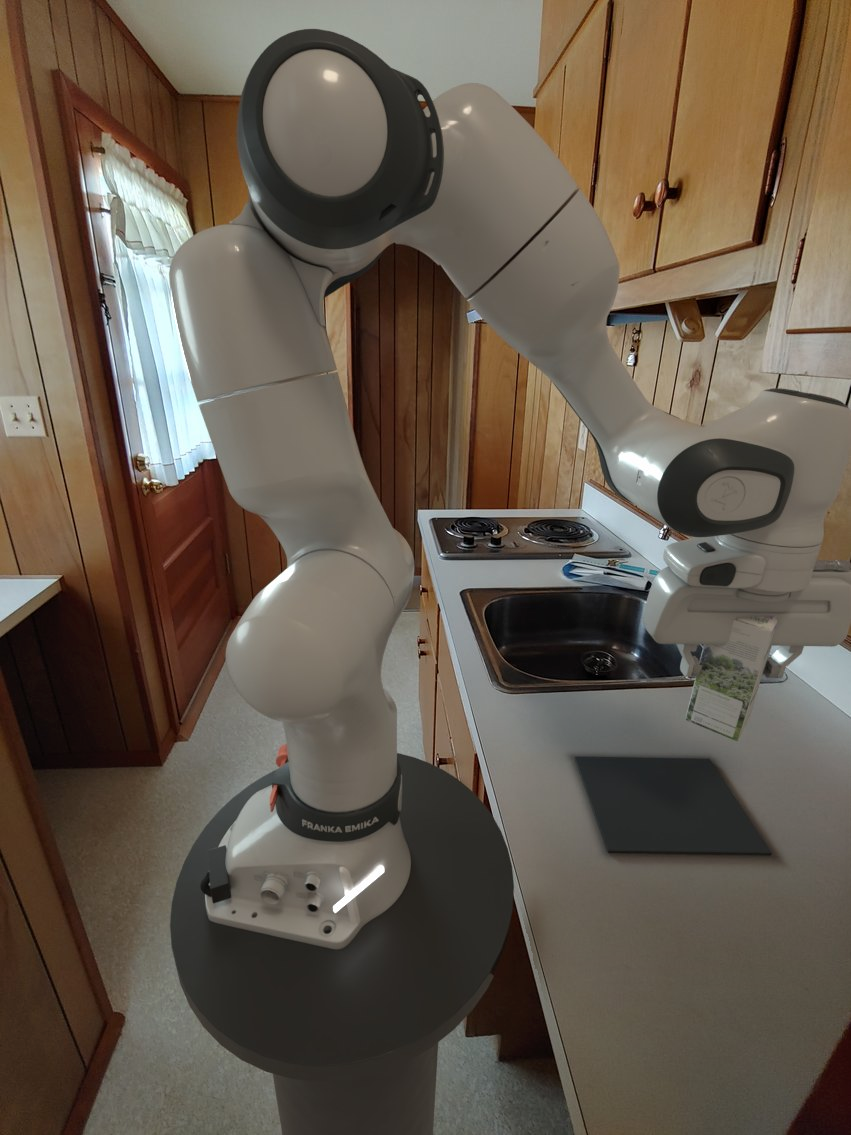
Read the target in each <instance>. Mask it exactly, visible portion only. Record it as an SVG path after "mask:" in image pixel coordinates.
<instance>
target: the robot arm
mask: <svg viewBox="0 0 851 1135" xmlns="http://www.w3.org/2000/svg"><path fill="white" fill-rule="evenodd" d="M419 96H421V97H422V98H423V100H424V102H425V104H426V107H424V108H423V106H422V103H421V102H420V100H419ZM236 144H237V155H238V160H239V165H240V169H241V171H242V175H243V177H244V180H245V182H246V185H247V188H248V199H247V202H245V204H244V206H243V209H242V211H241V213H240V214H239V215H238V216H237V217H235V218H233V219H232V220H230V221H229V223H227V224H219V225H214V226H211V227H208V228H205V229H203V230H200V231H199V232H197V233H195V234H193V235H192V236H190V237H189V238H188V239H186V240H185V241H184V242H183V243H182V244H181V245H180V246H179V247H178V248H177V250H176V251H175V253H174V255H173V257H172V259H171V261H170V265H169V272H168V279H169V290H170V296H171V302H172V310H173V315H174V320H175V325H176V331H177V335H178V339H179V344H180V348H181V352H182V356H183V360H184V363H185V366H186V370H187V373H188V377H189V380H190V384H191V386H192V390H193V393H194V396H195V400H196V402H197V403H199V404H198V407H199V411H200V413H201V416H202V419H203V421H204V424H205V427H206V430H207V433H208V436H209V439H210V441H211V442H210V443H211V445H212V447H213V450H214V452H215V456H216V458H217V461H218V464H219V467H220V469H221V473H222V475H223V478H224V480H225V484H226V486H227V489H228V492H229V494H230V496H231V498H232V499H233V500H234V502H236V504H237V505H239V506H240V507H241V508H242V509H244V510H246V511H247V512H250V513H252V514H254V515H258V516H259V517H260V518H261V519H262V520H263V521H264V522H265V523H266V524H267V526H268V527H269V528H270V530H271V531H272V533H273V534H274V535H275V537H276V539H277V540H278V542H279V543H280V545H281V547H282V549H283V551H284V553H285V557H286V563H287V565H286V569H284V570H283V571H282V572H281V573H280V574H278V575H277V576H276V577H275V578H274V579H273V580H271V582H269V583H268V584H267V585H266V586H265V587H264V588H263V589H261V590H260V591H259V592H258V593H257V594H256V595H255V596H254V598H253V599H252V601H251V602H250V604H249V605H248V606H247V608H246V610H245V611H244V613H243V614H242V615H241V618H240V619H239V621H238V622H237V624H236V626H235V627H234V629H233V630H232V632H231V635H230V637H229V638H228V640H227V643H226V647H225V666H226V670H227V673H228V676H229V679H230V681H231V683H232V685H233V687H234V688H235V690H236V692H237V693H238V694H239V696H240V697H241V698H242V699H243V701H245V703H246V704H247V705H248V706H250V707H251V708H252V709H253V710H255V711H256V712H258V713H259V714H261V715H263V716H264V717H267V718H269V719H271V720H274V721H277V722H281V723H282V725H283V730H284V735H285V743H284V744H282V745H281V746H280V747H279V749H278V751H277V752H278V753H277V757H276V758H275V764H276V766H277V767H278V768H279V769H278V768H276V769H277V770H276V769H275V770H276V772H275V774H274V776H273V780H272V785H271V786H269V787H267V788H264V789H262V790H260V791H258V792H256V793H255V794H254V795H253V796H252V797H251V798H250V799H249V800H248V801H247V803H246V804H245V805H244V807H243V809H242V810H241V812H240V814H239V816H238V818H237V820H236V821H235V822H234V823H233V824H232V826H231V827H230V828H229V830H228V831H227V832H226V834H225V836H224V837H223V839H222V841H221V843H220V845H219V847H217V848H214V849H210V850H208V855H209V872H208V873H207V874H206V875H205V877H204V878H203V879H202V881H201V884H200V888H201V890H202V892H203V893H204V894H205V905H206V912H207V915H208V918H209V920H210V921H212V922H214V923H218V924H222V925H227V926H231V927H236V928H240V929H245V930H249V931H254V932H258V933H263V934H267V935H272V936H276V937H281V938H285V939H290V940H294V941H299V942H303V943H308V944H312V945H317V946H321V947H326V948H330V949H336V950H337V949H342V948H344V947H345V946H347V945H348V944H349V943H350V942H351V941H352V940H353V938H354V937H355V936H356V935H357V933H358V932H359V931H360V929H361V928H362V927H363V926H364V925H365V924H366V923H368V922H369V921H371V920H372V919H374V918H376V917H377V916H379V915H381V914H382V913H383V912H385V911H386V910H387V909H388V908H390V907H391V906H392V905H393V904H394V903H395V902H396V900H397V899H398V898H399V897H400V895H401V894H402V892H403V890H404V888H405V886H406V884H407V882H408V879H409V875H410V870H411V856H410V851H409V848H408V845H407V843H406V841H405V838H404V835H403V832H402V827H401V823H400V811H401V808H402V775H401V768H400V763H399V760H398V758H397V753H398V708H397V705H396V702H395V700H394V698H393V697H392V695H391V693H389V692H388V691H387V690H386V689H385V688H384V686H383V680H382V666H383V660H384V656H385V652H386V649H387V644H388V642H389V639H390V637H391V634H392V632H393V631H394V627H395V625H396V624H397V623H398V621H399V619H400V617H401V615H402V614H403V612H404V610H405V609H406V606H407V605H408V603H409V601H410V598H411V596H412V590H413V586H414V585H413V584H414V577H415V558H414V553H413V551H412V548H411V546H410V544H409V543H408V541H407V539H406V538H405V537H404V536H403V535H402V534H401V532H399V531H398V530H396V528H394V527H393V525H392V523H391V522H390V520H389V517H388V516H387V513H386V511H385V510H384V507H383V505H382V503H381V501H380V500H379V497H378V495H377V493H376V491H375V489H374V486H373V485H372V483H371V480H370V478H369V475H368V473H367V470H366V468H365V465H364V463H363V459H362V457H361V453H360V449H359V445H358V442H357V439H356V435H355V431H354V428H353V424H352V420H351V417H350V413H349V410H348V406H347V402H346V398H345V395H344V391H343V387H342V384H341V379H340V376H339V372H338V371H337V370H338V368H337V363H336V360H335V358H334V353H333V351H332V347H331V343H330V339H329V335H328V330H327V325H326V319H325V309H324V307H325V306H324V302H325V301H324V299H325V298H327V297H328V296H330V295H331V294H333V293H335V292H336V291H338V290H339V289H340V288H342V287H345V286H346V285H347V284H350V283H352V282H353V281H355V280H357V279H358V278H361V276H362V275H364V274H366V272H368V270H370V269H371V268H372V267H373V266H374V265H375V264H376V263H377V262H378V260H379V259H380V257H381V256H382V254H383V252H384V250H385V249H386V248H387V247H389V246H391V245H392V244H394V243H395V244H396V245H404V246H408V247H411V248H413V249H415V250H418V251H419V252H421V253H423V254H424V255H426V256H427V257H429V258H430V260H432V261H433V262H434V263H435V264H436V265H437V266H441V268H442V270H443V271H444V272H445V273H446V275H447V276H448V278H449V279H450V280H451V282H452V283H453V285H454V286H455V287H456V289H457V290H458V291H459V292H460V293H461V296H463V297H464V299H466V301H467V302H468V304H469V305H470V306H471V308H473V310H474V311H475V312H476V313H477V314H478V316H479V317H480V318H481V319H482V320H483V321H484V322H485V323H486V324H487V326H489V328H491V329H492V330H493V331H494V333H496V334H497V335H498V336H499V337H500V338H501V339H502V340H503V341H504V342H505V343H506V344H507V345H508V346H510V347H511V348H512V349H513V350H514V351H516V352H517V353H518V354H519V355H520V356H521V357H523V358H524V359H525V360H527V361H528V362H529V363H530V364H531V365H532V366H534V367H535V368H537V370H539V371H540V372H541V373H542V374H544V375H545V376H546V377H547V378H548V379H549V380H550V381H551V382H552V384H553V386H554V387H555V388H556V389H557V391H558V392H559V393H560V394H561V396H562V397H563V399H564V400H565V401H566V402H567V404H568V405H569V406H570V408H571V410H572V411H573V412H574V413H575V414H576V416H577V417H578V419H579V420H580V421H581V423H582V424H583V425H584V427H585V428H586V429H587V432H589V434H590V436H591V437H592V439H593V441H594V444H595V447H596V450H597V455H598V460H599V463H600V468H601V473H602V475H603V478H604V481H605V482H606V484H607V486H608V487H609V489H610V490H611V491H612V492H613V493H614V494H615V495H616V496H618V497H619V498H620V499H623V500H624V501H626V502H628V503H631V504H632V505H635V506H636V507H638V508H639V509H640V510H642V511H643V512H645V513H646V514H647V515H649V516H651V517H652V518H653V519H655V520H656V521H658V522H660V523H661V524H663V525H664V526H666V528H669V529H670V530H672V531H674V532H676V533H679V534H681V535H684V536H687V537H691V538H686V539H684V540H683V539H682V540H680V541H676V542H672V543H670V544H668V545H667V546H666V547H665V548H664V550H663V558H662V559H663V561H664V563H665V564H666V567H664V568H662V569H661V570H660V571H658V572H657V574H656V575H655V577H654V579H653V581H652V583H651V586H650V588H649V591H648V595H647V599H646V601H645V606H644V609H643V615H642V624H643V626H644V629H645V630H646V632H647V633H648V635H650V637H651V638H652V639H653V640H654V641H655V642H656V643H657V644H660V645H676V647H677V649H678V651H679V654H680V656H681V660H680V665H679V670H680V672H681V673H682V675H683V676H684V677H685V678H696V677H699V676H700V674H701V673H700V671H701V670H702V666H703V665H702V663H701V662H700V660H699V659H698V657H697V656H696V655H693V654H692V653H695V652H697V649H698V647H699V645H700V646H701V645H702V646H704V645H725V644H727V642H728V641H729V638H730V634H731V629H732V625H733V621H734V620H737V619H738V618H750V617H777V618H776V619H777V624H776V627H775V630H774V634H773V637H772V640H771V644H770V646H772V647H774V646H777V647H778V648H777V649H776V650H775V651H774V652H773V654H772V655H770V656H768V659H767V662H766V665H765V668H764V672H763V675H764V677H765V678H766V679H782V678H783V676H784V675H785V671H786V668H787V667H788V666H789V665H790V664H791V663H793V662H794V661H795V660H796V659H797V658H799V657H800V656H801V655H802V654H803V651H804V648H805V647H831V648H832V647H837V646H839V645H840V644H841V643H843V642H844V641H845V640H846V639H847V637H848V634H849V631H850V627H851V561H849V560H846V559H834V560H828V559H827V560H826V559H818V556H819V553H820V550H821V547H822V544H823V542H824V537H825V527H824V525H825V518H826V515H827V513H828V511H829V509H830V507H831V506H832V505H833V503H834V502H835V500H836V498H837V497H838V494H839V491H840V488H841V484H842V482H843V478H844V475H845V471H846V468H847V465H848V461H849V456H850V452H851V408H850V407H849V406H848V405H847V404H845V403H844V402H843V401H841V400H839V399H837V398H833V397H829V396H826V395H821V394H817V393H811V392H809V393H808V392H804V391H799V390H795V389H789V388H779V387H776V388H775V387H773V388H768V389H763V390H761V391H760V392H759V393H758V394H757V396H756V397H755V398H754V399H752V400H751V401H750V402H748V403H747V404H745V405H743V406H742V407H740V408H738V409H736V410H735V411H733V412H731V413H728V414H726V415H724V416H722V417H719V418H717V419H714V420H711V421H707V422H704V423H701V424H698V423H694V422H691V421H688V420H684V419H681V418H680V417H678V416H676V415H673V414H671V413H669V412H667V411H664V410H662V409H660V408H658V407H656V406H655V405H654V404H652V403H651V402H650V401H649V400H648V399H647V398H646V397H645V396H644V394H643V392H642V391H641V390H640V388H639V386H638V384H637V383H636V381H635V379H634V378H633V377H632V375H631V374H630V372H629V370H628V369H627V367H626V366H625V365H624V363H623V362H622V360H621V358H620V357H619V355H618V354H617V352H616V351H615V349H614V348H613V345H612V343H611V341H610V338H609V335H608V329H607V321H608V316H609V314H610V312H611V311H612V308H613V306H614V303H615V299H616V297H617V294H618V288H619V282H620V270H621V269H620V262H619V260H618V257H617V254H616V252H615V249H614V247H613V244H612V241H611V239H610V237H609V234H608V233H607V230H606V227H605V225H604V224H603V222H602V220H601V218H600V217H599V215H598V213H597V212H596V210H595V208H594V207H593V205H592V203H591V202H590V201H589V199H588V197H587V196H586V195H585V193H584V192H583V190H582V189H581V187H579V184H578V183H577V181H576V180H575V179H574V178H573V175H571V173H570V171H569V170H568V169H567V167H566V166H565V164H564V163H563V162H562V161H561V160H560V159H559V157H558V156H557V154H556V153H555V152H554V151H553V150H552V148H551V147H550V146H549V145H548V143H547V142H546V141H545V140H544V139H543V138H542V137H541V135H540V134H539V133H538V132H537V130H535V129H534V127H533V126H532V125H531V124H530V123H529V122H528V121H527V120H526V119H525V118H524V117H523V116H522V115H521V114H520V113H519V112H518V111H517V110H516V109H515V108H514V107H513V106H512V105H511V104H510V103H509V102H508V101H507V100H506V99H505V98H504V97H503V96H501V95H500V94H499V93H498V92H497V91H496V90H494V89H493V88H492V87H490V86H488V85H486V84H483V83H480V82H479V83H478V82H468V83H462V84H459V85H456V86H454V87H452V88H449V89H448V90H446V91H444V92H442V93H440V94H439V95H438V96H437V97H435V98H434V99H432V97H431V94H430V92H429V91H428V89H427V88H426V86H425V85H424V84H423V83H422V82H421V81H420V80H419V79H418V78H415V77H414V76H411V75H409V74H407V73H404V72H402V71H400V70H399V69H398V70H397V69H395V68H392V67H391V66H390V65H389V64H388V63H387V62H385V61H384V59H382V58H381V57H379V55H377V54H376V53H375V52H373V51H372V50H370V49H369V48H368V47H366V46H365V45H363V44H361V43H359V42H358V41H356V40H353V38H350V37H348V36H346V35H344V34H340V33H337V32H334V31H330V30H327V29H326V30H325V29H320V28H303V29H297V30H294V31H291V32H288V33H286V34H284V35H282V36H280V37H278V38H276V39H275V40H274V41H273V42H271V43H270V44H269V45H268V46H267V47H266V48H264V50H263V51H262V52H261V53H260V55H259V56H258V58H257V59H256V61H255V62H254V64H253V65H252V66H251V69H250V70H249V73H248V75H247V77H246V78H245V83H244V85H243V88H242V92H241V95H240V99H239V103H238V111H237V120H236ZM327 930H330V931H331V932H330V933H329V934H325V933H324V932H325V931H327Z"/></svg>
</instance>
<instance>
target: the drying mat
mask: <svg viewBox="0 0 851 1135" xmlns="http://www.w3.org/2000/svg"><path fill="white" fill-rule="evenodd" d="M574 761H575V763H576V766H577V769H578V772H579V774H580V778H581V780H582V783H583V786H584V789H585V792H586V794H587V795H586V796H587V798H588V800H589V803H590V806H591V809H592V811H593V815H594V817H595V820H596V823H597V825H598V828H599V831H600V835H601V837H602V840H603V843H604V846H605V848H606V852H607V853H608V854H610V853H611V854H615V853H616V854H666V855H667V854H668V855H669V854H671V855H672V854H673V855H730V856H731V855H737V856H740V855H741V856H742V855H743V856H744V855H745V856H771V855H772V854H773V852H772V850H771V849H770V848H769V846H768V845H767V842H765V840H764V839H763V837H762V836H761V834H760V833H759V831H758V830H757V828H756V826H755V825H754V824H753V822H752V820H751V819H750V818H749V816H748V815H747V813H746V811H745V810H744V808H743V807H742V805H741V804H740V803H739V801H738V800H737V798H736V797H735V795H734V794H733V791H732V790H731V789H730V788H729V785H728V784H727V783H726V781H725V780H724V778H723V777H722V775H721V774H720V772H719V771H718V769H717V767H716V766H715V765H714V764H713V762H712V760H711V759H710V758H692V757H691V758H689V757H641V756H640V757H636V756H635V757H634V756H579V755H577V756H574Z"/></svg>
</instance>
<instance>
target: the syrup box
mask: <svg viewBox="0 0 851 1135" xmlns="http://www.w3.org/2000/svg"><path fill="white" fill-rule="evenodd" d="M776 618H777V617H750V618H738V619H737V620H734V621H733V625H732V629H731V634H730V638H729V641H728V642H727V644H725V645H702V651H701V654H700V657H699V661H700V662H701V663H702V665H703V666H702V670H701V671H700V673H701V674H700V676H699V677H694V682H693V686H692V690H691V695H690V699H689V702H688V706H687V711H686V714H685V721H687V722H690V723H692V724H694V725H697V726H699V727H701V728H705V729H706V730H708V731H711V732H713V733H715V734H719V735H721V736H722V737H725V738H727V739H730V740H733V741H735V742H738V741H740V739H741V737H742V735H743V732H744V730H745V728H746V727H747V724H748V723H749V720H750V718H751V716H752V712H753V709H754V704H755V701H756V697H757V694H758V691H759V688H760V684H761V681H762V677H763V675H764V674H763V672H764V668H765V665H766V662H767V659H768V657H770V653H771V650H772V647H773V646H770V644H771V640H772V637H773V634H774V630H775V627H776V624H777V619H776Z"/></svg>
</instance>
